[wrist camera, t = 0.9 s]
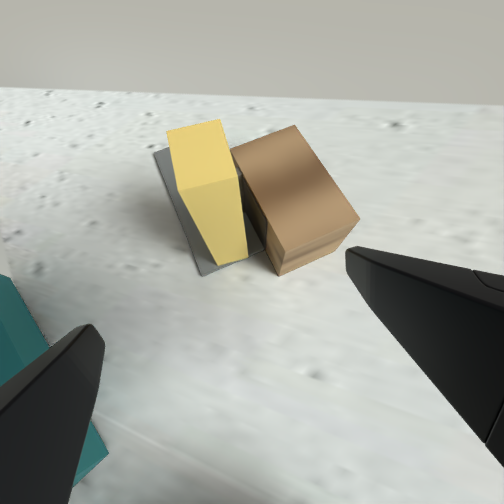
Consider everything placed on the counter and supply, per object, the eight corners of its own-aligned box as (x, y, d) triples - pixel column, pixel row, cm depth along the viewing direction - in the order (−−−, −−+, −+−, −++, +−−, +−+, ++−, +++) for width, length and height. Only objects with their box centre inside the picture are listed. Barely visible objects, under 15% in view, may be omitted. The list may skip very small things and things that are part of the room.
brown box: (334, 251, 24) (360, 218, 18) (273, 279, 23) (277, 255, 17) (287, 174, 27) (294, 124, 21) (231, 196, 26) (223, 151, 20)
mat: (264, 249, 24) (264, 248, 24) (202, 276, 23) (201, 275, 23) (206, 136, 29) (205, 133, 29) (155, 155, 29) (153, 152, 28)
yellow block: (248, 257, 23) (237, 176, 12) (217, 265, 23) (178, 191, 12) (238, 221, 25) (220, 118, 14) (209, 229, 25) (166, 131, 13)
